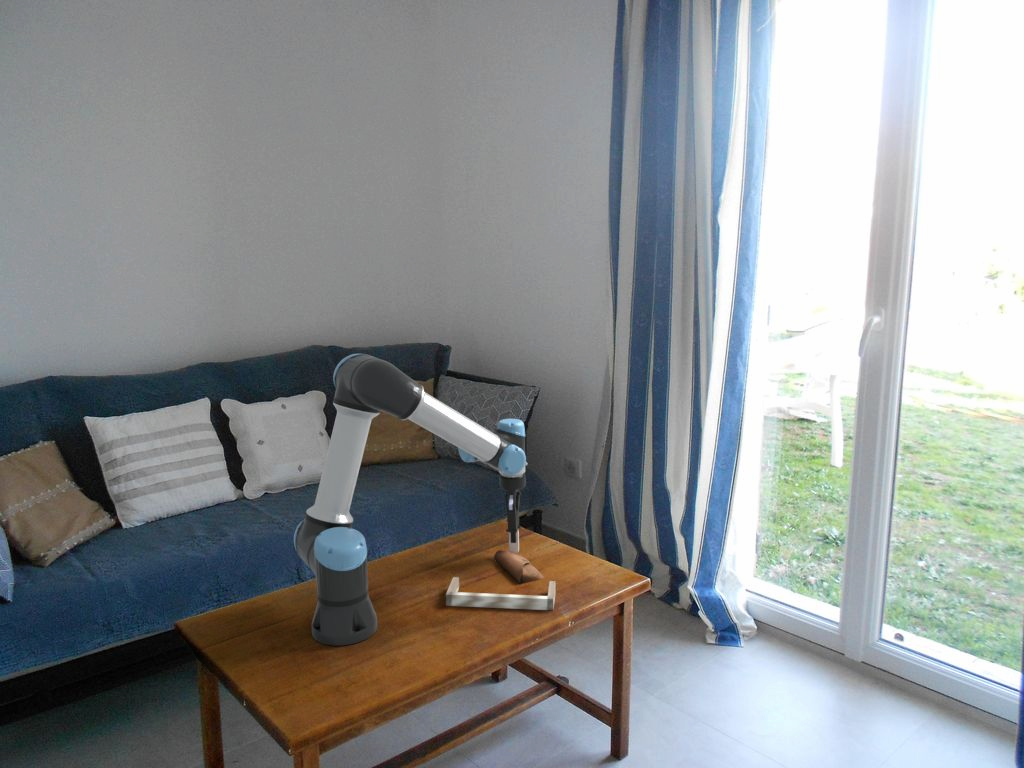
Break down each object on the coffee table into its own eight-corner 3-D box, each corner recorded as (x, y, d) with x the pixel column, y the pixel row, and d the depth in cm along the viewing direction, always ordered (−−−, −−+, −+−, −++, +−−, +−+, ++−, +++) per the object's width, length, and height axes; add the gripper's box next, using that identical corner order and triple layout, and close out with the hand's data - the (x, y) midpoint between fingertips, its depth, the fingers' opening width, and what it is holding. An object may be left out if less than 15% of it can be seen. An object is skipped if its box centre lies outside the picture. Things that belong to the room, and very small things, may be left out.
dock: (446, 605, 188) (445, 594, 188) (453, 587, 198) (453, 577, 198) (553, 610, 185) (553, 599, 185) (555, 592, 195) (555, 581, 195)
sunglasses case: (548, 579, 203) (537, 561, 201) (528, 596, 201) (516, 578, 199) (520, 555, 219) (509, 538, 217) (501, 570, 217) (490, 554, 215)
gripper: (523, 480, 205) (524, 561, 210) (527, 466, 218) (529, 542, 222) (496, 480, 206) (498, 560, 211) (502, 466, 219) (504, 542, 223)
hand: (514, 551), depth 216 cm, fingers closed
